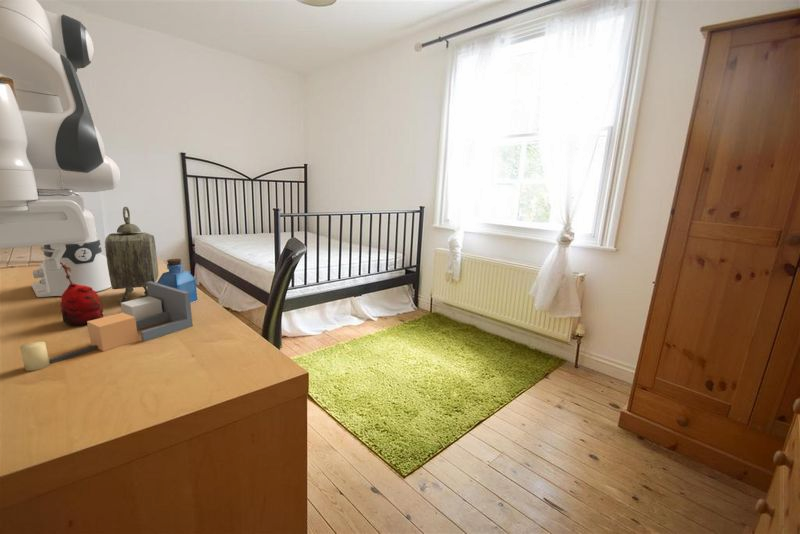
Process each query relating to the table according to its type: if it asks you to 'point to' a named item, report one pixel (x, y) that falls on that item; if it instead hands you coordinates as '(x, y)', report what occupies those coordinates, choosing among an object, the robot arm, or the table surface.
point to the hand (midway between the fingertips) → (15, 275)
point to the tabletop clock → (131, 257)
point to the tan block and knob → (102, 337)
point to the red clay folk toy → (79, 303)
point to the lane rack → (166, 311)
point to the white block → (142, 307)
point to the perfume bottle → (179, 278)
